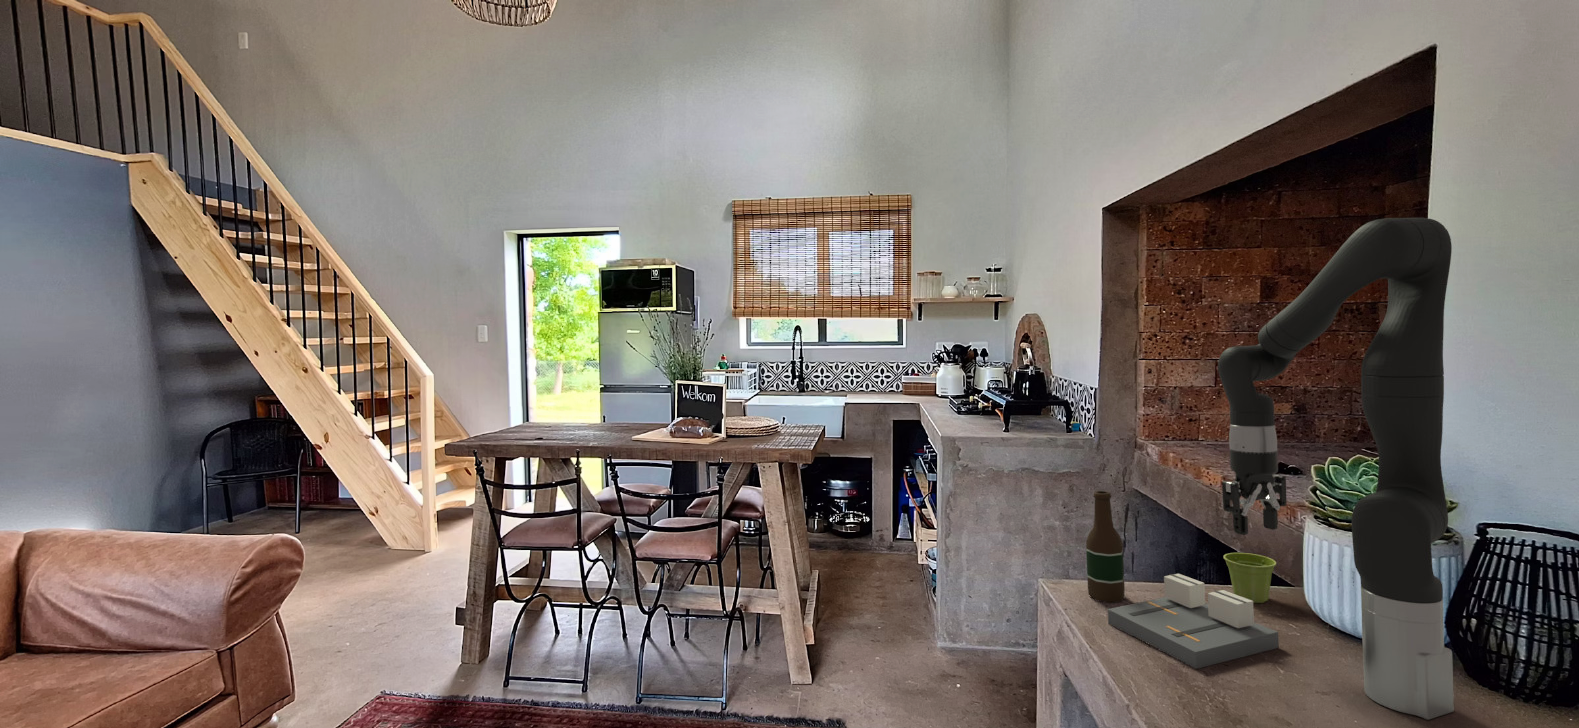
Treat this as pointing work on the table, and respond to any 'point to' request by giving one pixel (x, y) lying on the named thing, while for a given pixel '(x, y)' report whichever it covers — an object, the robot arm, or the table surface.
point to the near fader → (1230, 608)
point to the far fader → (1184, 590)
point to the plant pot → (1250, 575)
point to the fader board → (1191, 632)
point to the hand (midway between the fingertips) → (1256, 531)
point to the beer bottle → (1104, 554)
